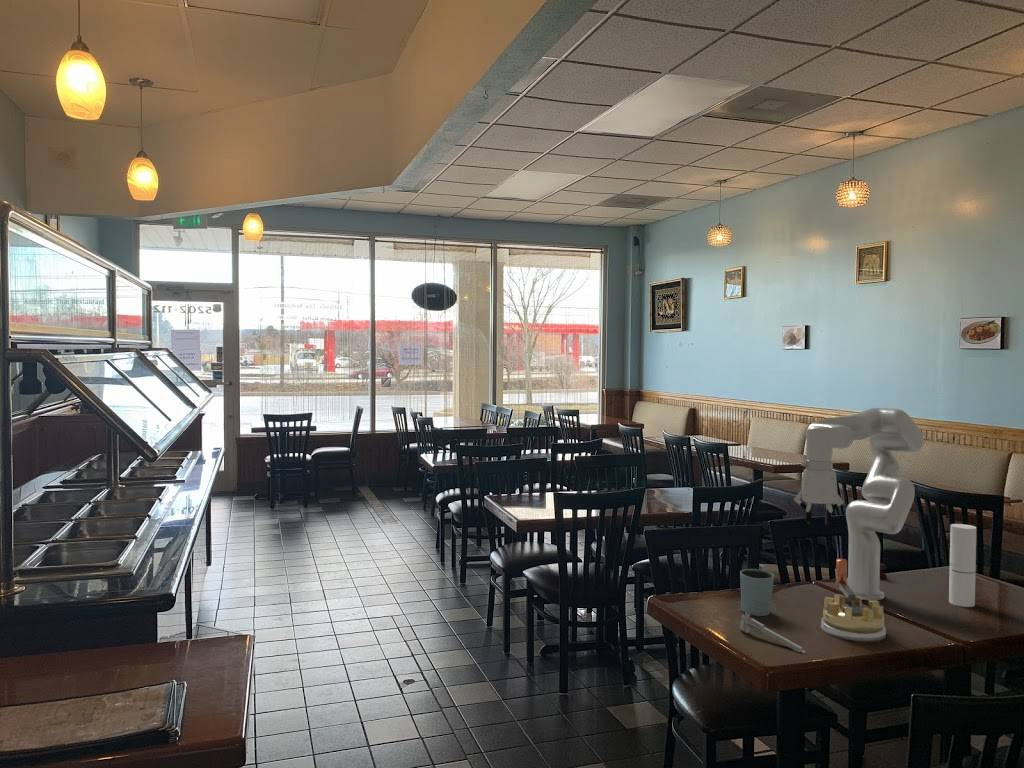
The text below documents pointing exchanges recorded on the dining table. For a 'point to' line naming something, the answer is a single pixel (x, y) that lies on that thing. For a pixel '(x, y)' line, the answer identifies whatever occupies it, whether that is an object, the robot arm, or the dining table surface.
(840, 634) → the plate
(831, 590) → the dining table surface
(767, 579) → the grey green cup
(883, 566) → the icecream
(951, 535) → the cylindrical container
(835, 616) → the crank handle mechanism
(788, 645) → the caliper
